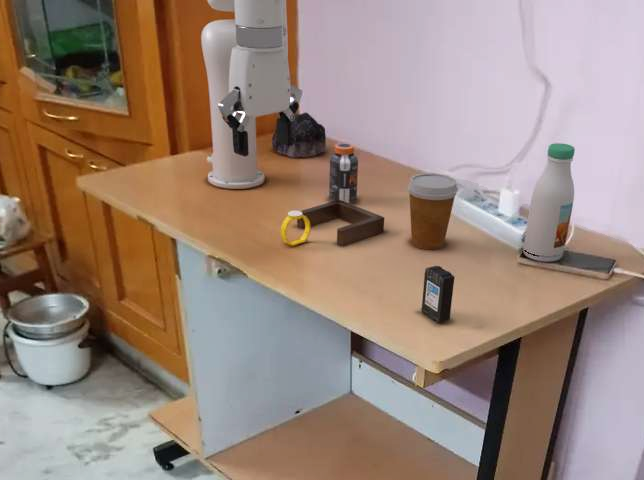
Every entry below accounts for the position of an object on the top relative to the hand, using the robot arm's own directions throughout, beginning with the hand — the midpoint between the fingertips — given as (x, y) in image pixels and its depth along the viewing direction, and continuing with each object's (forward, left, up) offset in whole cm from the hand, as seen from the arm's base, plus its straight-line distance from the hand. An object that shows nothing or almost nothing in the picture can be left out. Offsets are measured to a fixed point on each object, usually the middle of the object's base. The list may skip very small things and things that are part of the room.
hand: (263, 149), depth 145 cm
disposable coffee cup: (+15, +28, -19) cm, 37 cm away
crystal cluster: (-45, +48, -19) cm, 68 cm away
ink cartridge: (+37, +5, -19) cm, 42 cm away
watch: (-1, +8, -19) cm, 21 cm away
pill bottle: (-13, +32, -19) cm, 39 cm away
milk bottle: (+33, +41, -19) cm, 56 cm away
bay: (-1, +19, -19) cm, 27 cm away
